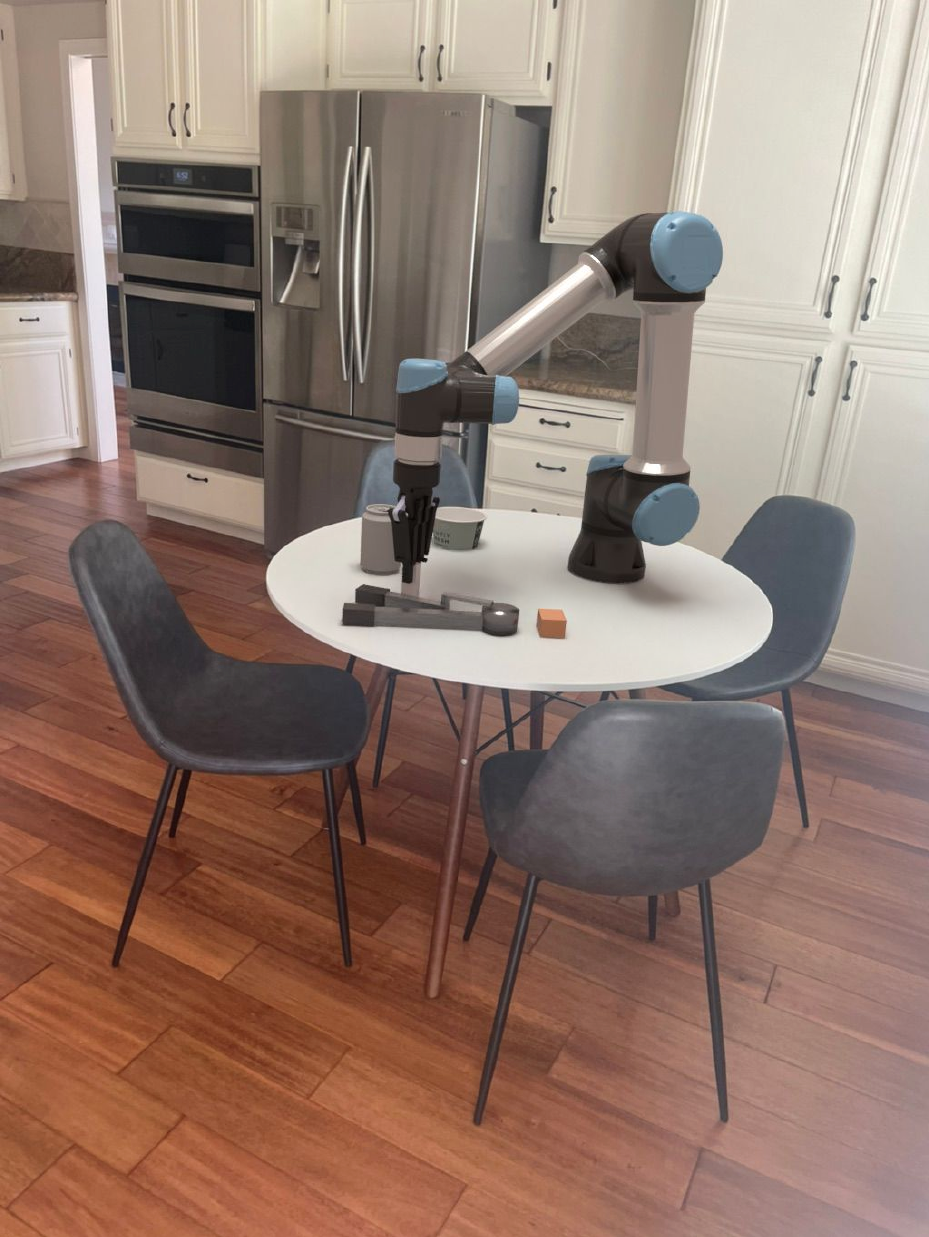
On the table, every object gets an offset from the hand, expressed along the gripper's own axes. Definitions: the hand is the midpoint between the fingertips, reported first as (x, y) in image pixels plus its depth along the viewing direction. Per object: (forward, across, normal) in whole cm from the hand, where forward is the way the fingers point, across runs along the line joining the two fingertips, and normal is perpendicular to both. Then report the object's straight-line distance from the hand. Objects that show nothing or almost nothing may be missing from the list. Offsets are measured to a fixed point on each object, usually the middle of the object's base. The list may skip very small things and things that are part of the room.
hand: (409, 599), depth 158 cm
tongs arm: (+1, +2, +4) cm, 4 cm away
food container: (+2, -39, -12) cm, 41 cm away
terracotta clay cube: (+1, -4, +24) cm, 24 cm away
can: (+2, -14, -15) cm, 21 cm away
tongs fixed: (+1, +5, +7) cm, 9 cm away
